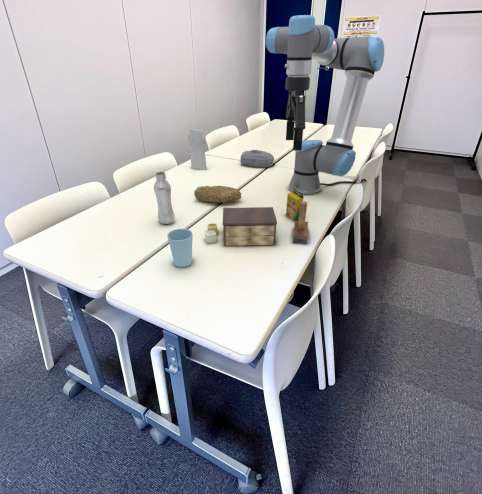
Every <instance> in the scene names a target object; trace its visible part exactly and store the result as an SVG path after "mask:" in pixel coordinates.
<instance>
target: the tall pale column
mask: <svg viewBox="0 0 482 494" xmlns="http://www.w3.org/2000/svg"><path fill="white" fill-rule="evenodd" d="M187 138H188V143H189V149H190V157H189V158H190V164H191V165H190V166H191V167H190V169H195V170H201V171H202V170H203V171H206V170H207V157H206V151H205V149H206V148H205V146H206V145H205V144H206V136H205V134H204V132H203V130H202V129H198V128H194V129H189V134H188V135H187Z"/></svg>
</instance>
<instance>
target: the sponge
mask: <svg viewBox="0 0 482 494" xmlns="http://www.w3.org/2000/svg"><path fill="white" fill-rule="evenodd" d="M193 195H194V197H195V199H196V200H199V201H203V202H210V203H216V204H220V203H222V204H223V203H230V202H235V201H239V200H241V199H242V192H241V191H240V190H239V189H238V188H234V187H230V186H226V185H213V186H209V185H204V186H203V185H202V186H197V187H196V189H195V190H194V191H193Z"/></svg>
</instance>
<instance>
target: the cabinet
mask: <svg viewBox="0 0 482 494" xmlns="http://www.w3.org/2000/svg"><path fill="white" fill-rule="evenodd" d="M277 225H278V221H277V216H276V213H275V209H274V207H273V206H262V207H261V206H260V207H257V206H256V207H255V206H253V207H222V227H223V228H222V229H223V246H224V247H228V246H230V247H231V246H232V247H233V246H234V247H237V246H276V238H277V237H276V236H277Z"/></svg>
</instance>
